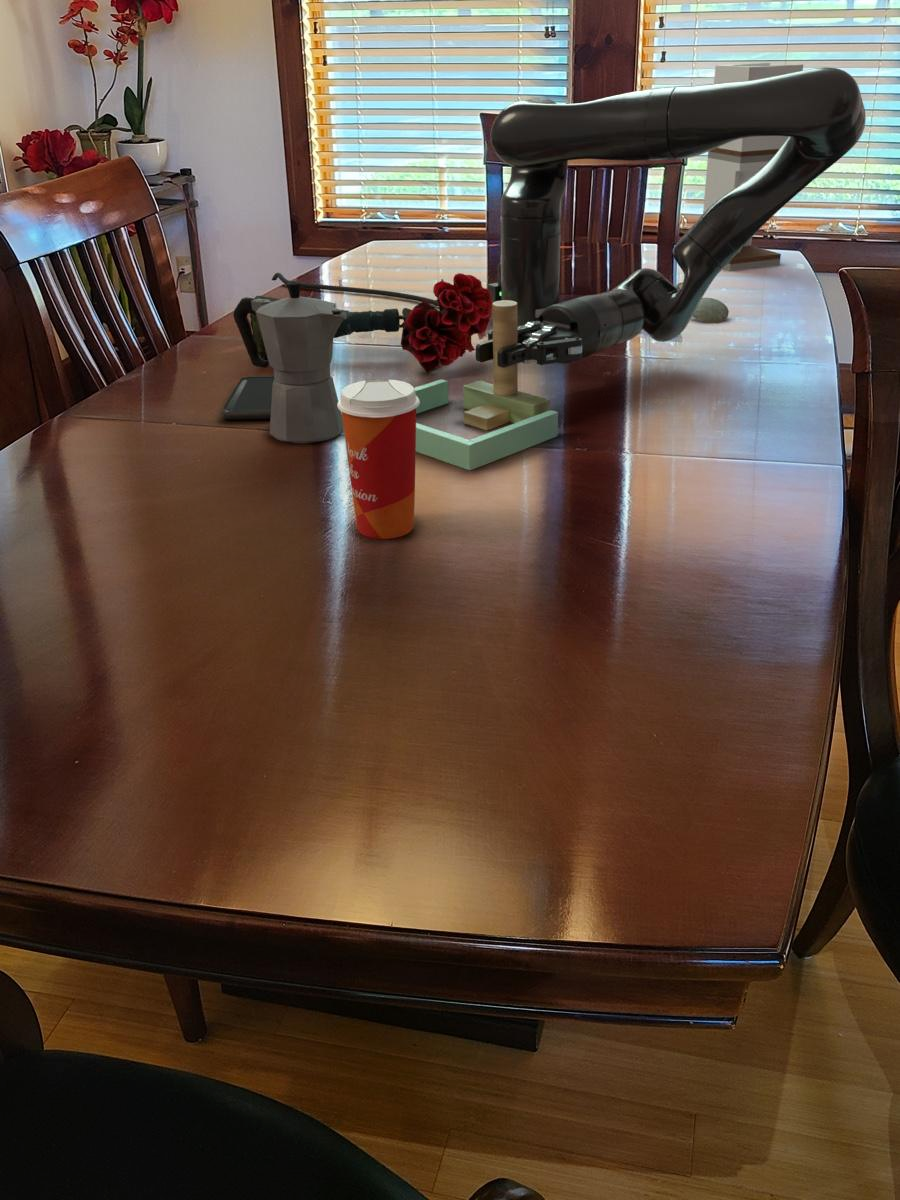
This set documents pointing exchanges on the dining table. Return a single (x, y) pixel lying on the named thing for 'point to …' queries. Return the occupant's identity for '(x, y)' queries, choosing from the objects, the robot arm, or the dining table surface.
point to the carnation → (423, 322)
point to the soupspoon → (709, 309)
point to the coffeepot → (296, 362)
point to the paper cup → (381, 454)
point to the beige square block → (486, 417)
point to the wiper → (504, 373)
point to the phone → (250, 399)
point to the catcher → (484, 446)
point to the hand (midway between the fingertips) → (489, 356)
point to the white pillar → (743, 159)
